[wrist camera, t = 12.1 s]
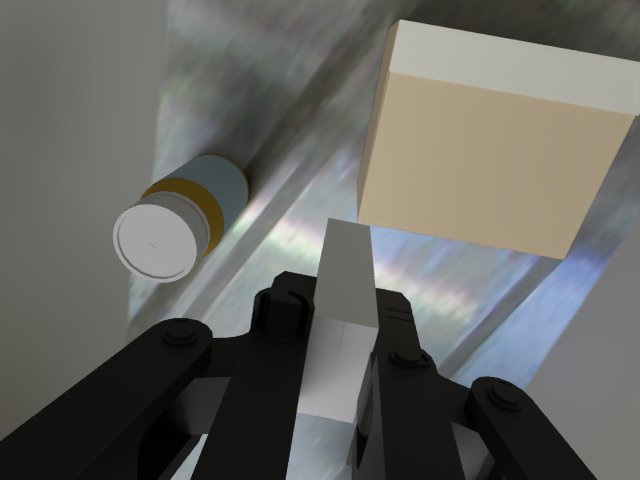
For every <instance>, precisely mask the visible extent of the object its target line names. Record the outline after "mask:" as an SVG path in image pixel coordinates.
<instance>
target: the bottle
mask: <svg viewBox="0 0 640 480" xmlns="http://www.w3.org/2000/svg"><path fill="white" fill-rule="evenodd" d="M248 196H249V186H248V181H247V178H246V176H245V174H244V172H243V171H242V170H241V168H240V167H239V166H238V165H237V164H236V163H235V162H233V161H232V160H230V159H228V158H227V157H224V156H221V155H216V154H207V155H202V156H199V157H197V158H195V159H193V160H191V161H189V162H188V163H186V164H185V165H183V166H182V167H180V168H178V169H177V170H175V171H174V172H172V173H170V174H169V175H167V176H166V177H164V178H163V179H161V180H159V181H158V182H156V183H155V184H153V185H152V186H151V187H150V188H149V189H148V190H147V191H146V192H145V193H144V194H143V195H142V197H141V199H140V201H138V202H137V203H135V204H134V205H132V206H131V207H129V208H128V209H126V210H125V211H124V212H123V213H122V215H120V217H119V219H118V220H117V222H116V224H115V227H114V231H113V242H114V246H115V250H116V252H117V254H118V256H119V258H120V259H121V261H122V262H123V263H124V265H125V266H126V267H127V268H128V269H129V270H131V271H132V272H133V273H134V274H136V275H138V276H139V277H141V278H144V279H146V280H149V281H153V282H161V283H164V282H172V281H175V280H178V279H180V278H182V277H183V276H185V275H186V274H187V273H189V272H190V271H191V270H192V269H193V267H194V266H195V265H196V263H197V262H198V261H199V259H200V258H202V257H204V256H206V255H208V254H209V253H210V252H211V251H212V250H213V249H214V248H215V247H216V246H217V245H218V243H219V242H220V241H221V239H222V238H223V237H224V235H225V234H226V233H227V231H228V230H229V228H230V227H231V226H232V224H233V223H234V222H235V220H236V219H237V218H238V216H239V215H240V214H241V212H242V211H243V209H244V207H245V205H246V203H247V201H248Z"/></svg>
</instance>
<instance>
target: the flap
mask: <svg viewBox="0 0 640 480" xmlns="http://www.w3.org/2000/svg"><path fill="white" fill-rule="evenodd" d="M639 114H640V62H637V61H632V60H626V59H620V58H615V57H609V56H604V55H598V54H592V53H587V52H581V51H575V50H570V49H564V48H558V47H553V46H547V45H542V44H536V43H530V42H525V41H519V40H513V39H508V38H502V37H497V36H491V35H485V34H480V33H474V32H468V31H463V30H457V29H451V28H446V27H440V26H435V25H429V24H423V23H418V22H412V21H406V20H400V22H399V26H398V31H397V36H396V40H395V45H394V49H393V54H392V59H391V63H390V68H389V75H388V80H387V84H386V89H385V93H384V98H383V103H382V107H381V112H380V116H379V121H378V125H377V130H376V135H375V139H374V144H373V148H372V153H371V157H370V162H369V167H368V171H367V176H366V180H365V185H364V189H363V194H362V199H361V203H360V208H359V212H358V217H357V222H358V223H363V224H369V225H374V226H380V227H385V228H391V229H396V230H402V231H407V232H413V233H418V234H424V235H429V236H435V237H441V238H446V239H452V240H457V241H463V242H468V243H474V244H479V245H485V246H490V247H496V248H501V249H507V250H512V251H518V252H524V253H529V254H535V255H540V256H546V257H551V258H557V259H562V260H564V258H565V256H566V254H567V252H568V250H569V248H570V246H571V244H572V242H573V240H574V238H575V236H576V234H577V232H578V230H579V228H580V226H581V224H582V222H583V220H584V218H585V216H586V214H587V212H588V210H589V208H590V206H591V204H592V202H593V200H594V198H595V196H596V194H597V192H598V190H599V188H600V186H601V184H602V182H603V180H604V178H605V176H606V174H607V172H608V170H609V168H610V166H611V164H612V162H613V160H614V158H615V156H616V154H617V152H618V150H619V148H620V146H621V144H622V142H623V140H624V138H625V136H626V134H627V132H628V130H629V128H630V126H631V124H632V122H633V120H634V118H635V116H636V115H637V116H639Z"/></svg>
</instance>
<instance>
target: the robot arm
mask: <svg viewBox="0 0 640 480" xmlns="http://www.w3.org/2000/svg"><path fill="white" fill-rule="evenodd" d="M356 410H357V425H356V429H355V432H354V436H353V440H352V443H351V447H350V450H349V454H348V457H347V461H346V465H349V466H350V465H351V462H352V480H597V479H596V478H595V476H594V475H593V474H592V473H591V471H590V470H589V469H588V468H587V466H586V465H585V464H584V463H583V461H582V460H581V459H580V458H579V457H578V456H577V454H576V453H575V452H574V450H573V449H572V448H571V447H570V445H569V444H568V443H567V442H566V441H565V439H564V438H563V437H562V436H561V434H560V433H559V432H558V431H557V429H556V428H555V427H554V426H553V425H552V423H551V422H550V421H549V420H548V418H547V417H546V416H545V415H544V413H543V412H542V411H541V410H540V409H539V407H538V406H537V405H536V404H535V402H534V401H533V400H532V399H531V398H530V397H529V396H528V395H527V394H526V393H525V392H524V391H523V390H521V389H520V388H518V387H517V386H515V385H513V384H512V383H510V382H508V381H505V380H503V379H500V378H495V377H489V376H487V377H479V378H477V379H476V380H475V381H473V383H472V385H471V388H467V387H465V386H463V385H460V384H458V383H455V382H453V381H451V380H449V379H447V378H445V377H443V376H441V375H440V374H438V372H437V369H436V365H435V363H434V361H433V359H432V357H431V356H430V355H429V354H427V353H426V352H425V351H424V350H423V349H421V347H420V343H419V339H418V335H417V330H416V326H415V323H414V317H413V315H412V309H411V304H410V302H409V301H408V300H407V299H406V298H405V296H404V295H403V294H402V293H400V292H395V291H390V290H385V289H380V288H375V279H374V268H373V257H372V246H371V234H370V226H367V225H362V224H357V223H352V222H346V221H341V220H336V219H331V218H328V223H327V228H326V233H325V238H324V243H323V248H322V253H321V258H320V263H319V268H318V273H317V277H313V276H308V275H303V274H298V273H293V272H288V271H284V272H282V273H281V274H279V275H278V276H276V277H275V278H274V281H273V284H272V286H271V287H270V288H266V289H264V290H261V291H259V292H258V293H257V294H256V296H255V299H254V306H253V313H252V320H251V327H250V330H249V332H248V333H246V334H244V335H240V336H236V337H228V338H213V335H212V331H211V330H210V328H209V327H208V326H207V325H205V324H204V323H202V322H200V321H198V320H193V319H189V318H173V319H168V320H164V321H161V322H159V323H157V324H156V325H154V326H152V327H151V328H150V329H148V330H147V331H146V332H144V333H143V334H142V335H140V336H139V337H138V338H136V339H135V340H134V341H132V342H131V343H130V344H128V345H127V346H126V347H124V348H123V349H122V350H120V351H119V352H118V353H116V354H115V355H114V356H112V357H111V358H110V359H108V360H107V361H106V362H104V363H103V364H102V365H100V366H99V367H98V368H97V369H95V370H94V371H93V372H91V373H90V374H89V375H87V376H86V377H85V378H83V379H82V380H81V381H79V382H78V383H77V384H75V385H74V386H73V387H71V388H70V389H69V390H67V391H66V392H65V393H63V394H62V395H61V396H59V397H58V398H57V399H55V400H54V401H53V402H52V403H50V404H49V405H47V406H46V407H45V408H43V409H42V410H41V411H40V412H38V413H37V414H36V415H34V416H33V417H32V418H30V419H29V420H28V421H26V422H25V423H24V424H22V425H21V426H20V427H18V428H17V429H16V430H14V431H13V432H12V433H11V434H9V435H8V436H6V437H5V438H4V439H3V440H1V441H0V480H170V479H171V478H172V477H173V475H174V474H175V473H176V471H177V470H178V469H179V467H180V466H181V465H182V463H183V462H184V461H185V459H186V458H187V457H188V455H189V454H190V453H191V452H192V450H193V449H194V448H195V446H196V445H197V444H198V442H199V440H200V438H201V436H202V434H208V436H207V439H206V441H205V444H204V446H203V449H202V451H201V454H200V456H199V459H198V461H197V464H196V466H195V469H194V471H193V474H192V476H191V479H190V480H286V474H287V468H288V462H289V456H290V450H291V444H292V438H293V432H294V426H295V420H296V414H297V412H299V413H304V414H309V415H314V416H319V417H324V418H329V419H334V420H339V421H344V422H349V423H353V421H354V417H355V414H356Z"/></svg>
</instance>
